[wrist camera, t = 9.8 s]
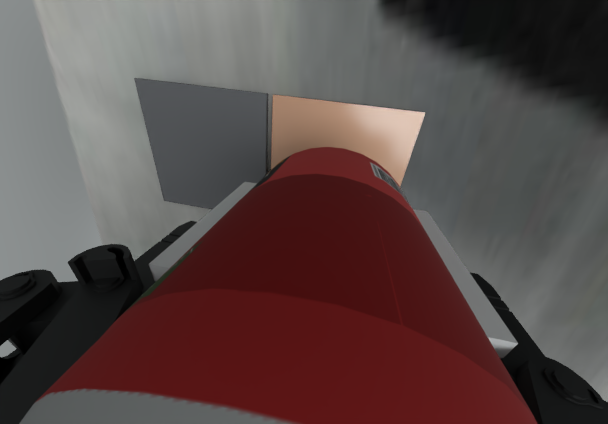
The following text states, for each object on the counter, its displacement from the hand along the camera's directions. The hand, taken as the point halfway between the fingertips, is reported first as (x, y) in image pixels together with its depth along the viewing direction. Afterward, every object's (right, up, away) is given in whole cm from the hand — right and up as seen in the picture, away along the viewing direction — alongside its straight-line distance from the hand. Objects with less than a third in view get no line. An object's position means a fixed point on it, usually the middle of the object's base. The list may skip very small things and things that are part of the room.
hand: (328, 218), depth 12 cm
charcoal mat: (-10, +6, +8) cm, 14 cm away
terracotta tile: (+1, +4, +7) cm, 8 cm away
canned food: (0, 0, +1) cm, 1 cm away
